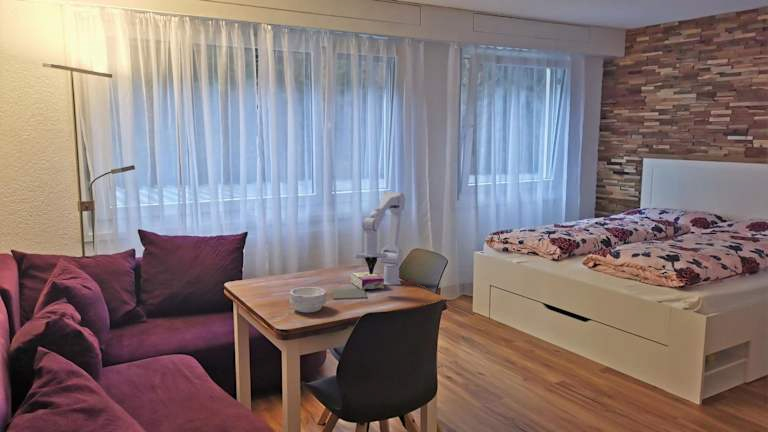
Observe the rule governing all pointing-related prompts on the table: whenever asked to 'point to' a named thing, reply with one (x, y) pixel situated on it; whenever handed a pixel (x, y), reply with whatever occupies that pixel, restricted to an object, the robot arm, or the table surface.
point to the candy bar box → (367, 280)
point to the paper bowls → (308, 299)
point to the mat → (349, 294)
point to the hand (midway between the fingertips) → (371, 273)
